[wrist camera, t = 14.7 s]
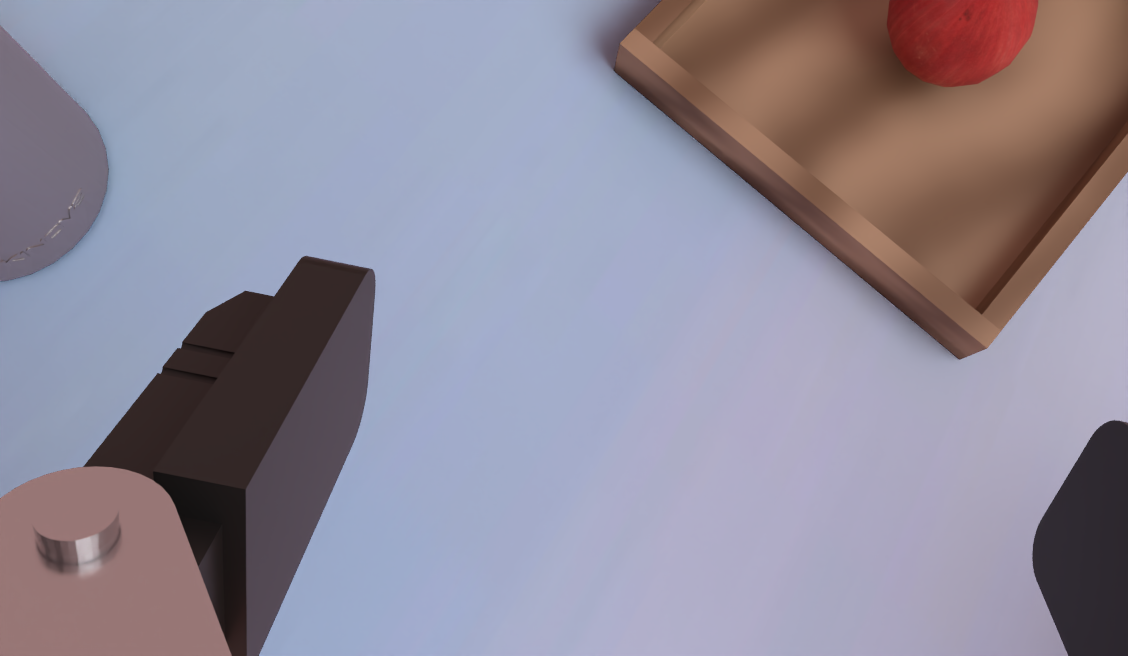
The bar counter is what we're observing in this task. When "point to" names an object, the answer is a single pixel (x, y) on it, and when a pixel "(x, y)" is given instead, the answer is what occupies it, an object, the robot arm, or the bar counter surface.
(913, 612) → the bar counter surface
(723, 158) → the walnut tray
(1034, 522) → the bar counter surface
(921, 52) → the onion
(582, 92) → the bar counter surface
